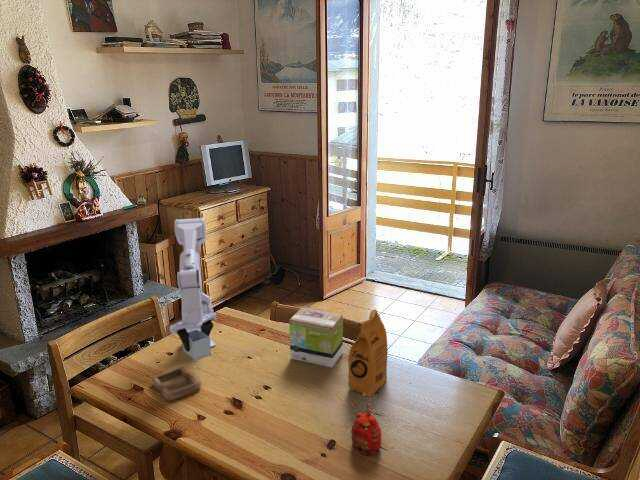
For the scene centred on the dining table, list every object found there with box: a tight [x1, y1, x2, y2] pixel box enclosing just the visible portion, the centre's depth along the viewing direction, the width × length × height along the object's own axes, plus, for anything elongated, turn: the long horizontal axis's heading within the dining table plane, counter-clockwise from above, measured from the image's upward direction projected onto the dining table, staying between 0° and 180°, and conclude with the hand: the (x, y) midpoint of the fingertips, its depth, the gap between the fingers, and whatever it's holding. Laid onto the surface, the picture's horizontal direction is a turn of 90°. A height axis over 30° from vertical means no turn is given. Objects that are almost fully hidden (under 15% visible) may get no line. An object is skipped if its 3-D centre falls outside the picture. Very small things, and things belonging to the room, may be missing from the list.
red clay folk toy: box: [350, 389, 382, 456], centre depth 127 cm, size 8×7×15 cm
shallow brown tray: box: [152, 366, 201, 404], centre depth 155 cm, size 12×10×2 cm
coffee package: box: [347, 308, 389, 397], centre depth 152 cm, size 10×12×22 cm
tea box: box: [288, 307, 344, 369], centre depth 168 cm, size 15×10×15 cm
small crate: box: [182, 328, 212, 361], centre depth 161 cm, size 8×6×6 cm
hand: (196, 347), depth 161 cm, fingers closed on small crate, 5 cm apart
